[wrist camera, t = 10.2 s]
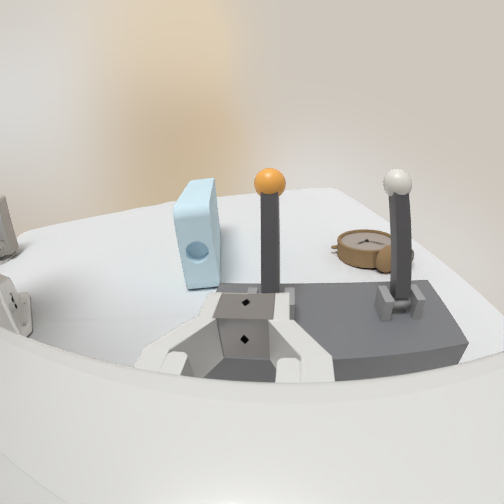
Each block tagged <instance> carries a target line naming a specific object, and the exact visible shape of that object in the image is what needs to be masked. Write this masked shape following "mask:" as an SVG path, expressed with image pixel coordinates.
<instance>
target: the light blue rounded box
mask: <svg viewBox="0 0 504 504" xmlns="http://www.w3.org/2000/svg"><path fill="white" fill-rule="evenodd" d="M173 218H174V224H175V230H176V236H177V241H178V247H179V252H180V257H181V262H182V267H183V272H184V277H185V282H186V286H187V289H197V288H207V287H217V286H219V283H220V244H221V234H220V224H219V216H218V207H217V198H216V188H215V180H214V178H209V179H199V180H191V181H190V182H189V184H188V185H187V186H186V188H185V189H184V191H183V193H182V194H181V196H180V197H179V199H178V200H177V202H176V204H175V205H174V207H173Z"/></svg>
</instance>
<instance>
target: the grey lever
mask: <svg viewBox="0 0 504 504" xmlns="http://www.w3.org/2000/svg"><path fill="white" fill-rule="evenodd" d="M383 186H384V189H385V191H386V193H387V194H388V195H389V208H390V229H391V282H390V294H391V296H392V298H393V300H394V306H393V309H399V308H409V307H410V305H411V299H410V292H411V260H412V249H411V217H410V203H409V193H410V191H411V188H412V182H411V179H410V177H409V175H408V174H407V173H406V172H405V171H403V170H400V169H393V170H390V171H389V172H388V173H387V174H386V175H385V177H384V180H383Z"/></svg>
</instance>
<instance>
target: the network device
mask: <svg viewBox="0 0 504 504" xmlns="http://www.w3.org/2000/svg"><path fill="white" fill-rule="evenodd" d="M17 249H18V243H17V240H16V237H15V233H14V230H13V226H12V222H11V218H10V215H9V210H8V206H7V202H6V198H5V196H4V195H1V196H0V259H1V258H2V257H4V256H6V255H11V254H12V255H11V256H9V257H8V258H7V259H6V260H4V261H2V262H0V265H1V264H4V263H6V262H7V261H9V260H10V259H11V258H12V257H14V256H15V255H16V250H17Z"/></svg>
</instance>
